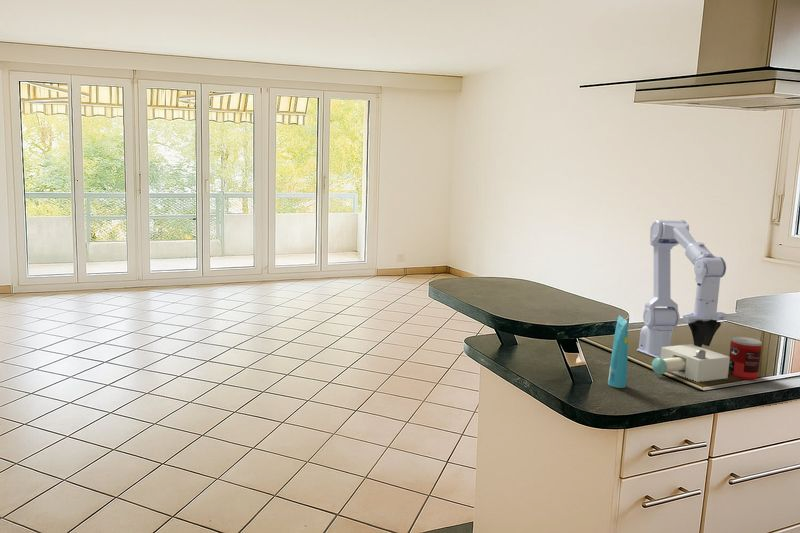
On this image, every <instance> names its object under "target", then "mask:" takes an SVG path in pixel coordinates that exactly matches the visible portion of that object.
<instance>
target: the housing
mask: <svg viewBox="0 0 800 533" xmlns="http://www.w3.org/2000/svg"><path fill="white" fill-rule="evenodd" d="M697 350H705V351H706V355H705V359H698V358H696V352H697ZM676 357H683V358H685V359H686V367H685V370H678V371H670V373H673V374H675V375H678V376H680V377H682V378H685V377H686V378H685V379H687V378H688V379H687V380H690V379H691V381H692V380H694V381H693V382H695V381H696V383H700V381H702V382H708V381H717V380H723V379H728V377H729V376H728V375H729V374H728V369H729V361H730V357H729V355H725V354H722V353H720V352H716V351H713V350H710V349H707V348H704V347H703V346H702V347H698V346H695V345H694V343H687V344H678V345H671V346H667V347H661V357H660V358H662V359H667V358H676Z"/></svg>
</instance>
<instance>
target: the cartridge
mask: <svg viewBox="0 0 800 533" xmlns="http://www.w3.org/2000/svg"><path fill="white" fill-rule="evenodd" d="M685 367H686V359H685V358H683V357H676V358H667V359H662V358H655V357H654V358H653V359H652V361H651V368H652V371H653V372H654V373H655V374H656V375H658V376H659V375H664V374H665V373H668V372H670V371H678V370H685ZM670 373H671V372H670Z"/></svg>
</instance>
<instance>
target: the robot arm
mask: <svg viewBox="0 0 800 533" xmlns="http://www.w3.org/2000/svg"><path fill="white" fill-rule="evenodd" d="M649 236H650V237H649V241H650V242H649V243H650V246H652V247H653V296H652V297H653V298H651V299H650V300H648V301H647V302H646V303H645V304H644V310H643V314H642V319H643V322H644V325H643V326H642V328H641V330H640V334H639V343H638V348H636V352H640V353H643V354H645V355H648V356H651V357H653V358H654V359H655V358H660V357H661V347H667V346H672V345H671V344H672V335H673V334H672V333H673V330H675V328H676V327H677V326H678V325H679V324H680V318H681V317H680V313H679V305H678V303H677V302H675V301H674V300H673V299H672V298H671V297H672V296H671V250H672V249H673V248H674V247H676V246H678V245H681V247H682V248H683V249H684V250H685V251H684V254H685V256H686V258H687V259H688V260H689V261H690V262H691V264H692V265H693V266H694V267H693V270H694V274H695V275H694V276H695V283H696V291H695V301H694V311H693V312H691V313H689V314H685V315H684V314H683V315H682V323H686V324H687V325H688V327H689V329H690V331H691V335H692V340H693V345H695V346H698V347H702V348H703V346H707V347H710V345H711V343H712V340H713V338H714V336H715V335H716V333H717V331H718V329H719V328H720V327H721V325H722V322H720V321H726V320H727V313H724V312H721V311H720V312H718V303H719V293H720V285H721V278H723V277H725V275H726V271H727V264H726V261H725V260H724V258H723V257H722V256H716V255H714V254H713V253H712V252H711V251H710V250H709V249H708V248H707V247H706V246H705V245H706V244H705V243H704V242H700V241H696V240H695V238H694V237H693V235H692V234H691V233H690V225H689V224H688V222H687V221H686V220H684V219H681V220H680V219H679V220H675V219H674V220H672V219H671V220H670V219H666V220H665V219H664V220H663V219H655V220H654V221H653V222H652V224H651V226H650V228H649Z"/></svg>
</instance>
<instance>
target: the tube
mask: <svg viewBox="0 0 800 533" xmlns="http://www.w3.org/2000/svg"><path fill="white" fill-rule="evenodd" d="M615 326H616V327H615V329H614V330H615V331H614V338H613V344H612V349H611V350H612V351H611V357H610V364H609V372H608V379H607V384H608V386H609V387H613V388H616V389H617V388H618V389H624V388H626V387H627V383H628V382H627V378H628V359H629V358H628V352H629V348H628V347H629V337H628V336H629V334H628V333H629V331H628V320H626V318H624V317H622V316H621V315H619V314H618V316H617V321H616V325H615Z"/></svg>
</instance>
